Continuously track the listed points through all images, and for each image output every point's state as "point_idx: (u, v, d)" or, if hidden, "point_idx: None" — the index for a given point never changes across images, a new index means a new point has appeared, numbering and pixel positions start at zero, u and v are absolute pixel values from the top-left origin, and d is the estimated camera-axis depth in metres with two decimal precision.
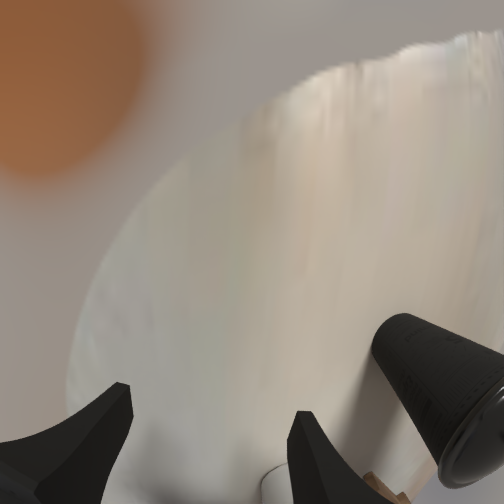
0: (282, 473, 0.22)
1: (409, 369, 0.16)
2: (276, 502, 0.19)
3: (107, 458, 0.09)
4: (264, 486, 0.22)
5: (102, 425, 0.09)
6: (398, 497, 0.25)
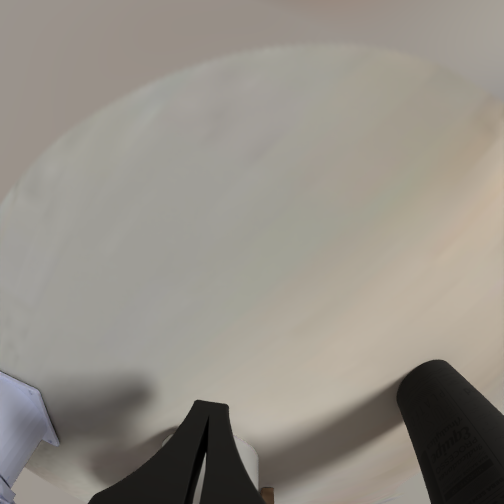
0: None
1: (466, 421, 0.11)
2: None
3: (196, 480, 0.09)
4: None
5: (198, 449, 0.09)
6: None
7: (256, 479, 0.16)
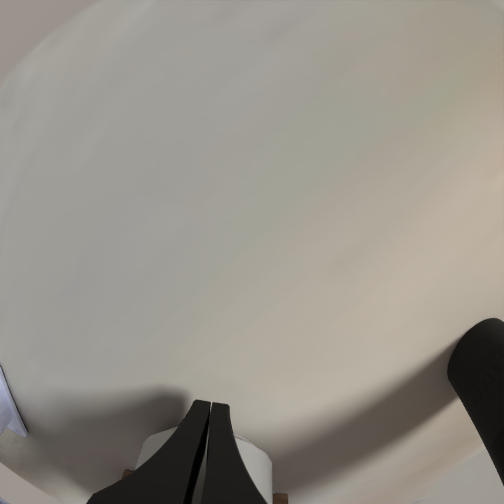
0: None
1: None
2: None
3: (195, 480, 0.09)
4: None
5: (197, 448, 0.09)
6: None
7: (270, 498, 0.11)
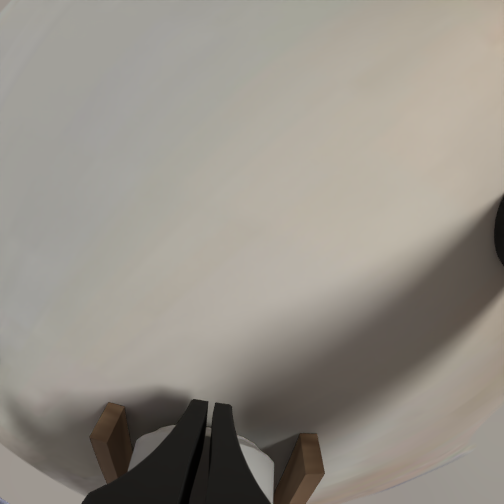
0: None
1: None
2: None
3: (192, 479, 0.09)
4: None
5: (194, 448, 0.09)
6: None
7: None
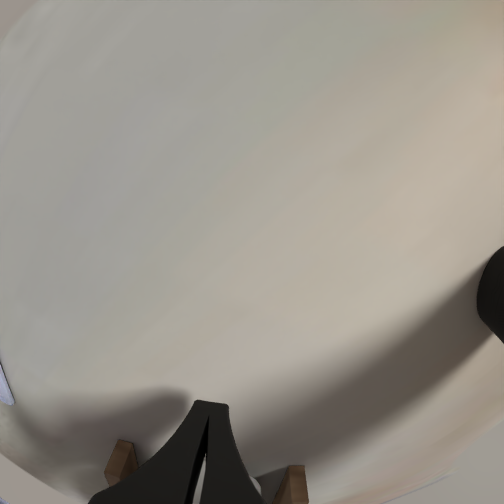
0: None
1: None
2: None
3: (195, 480, 0.09)
4: None
5: (198, 449, 0.09)
6: None
7: None
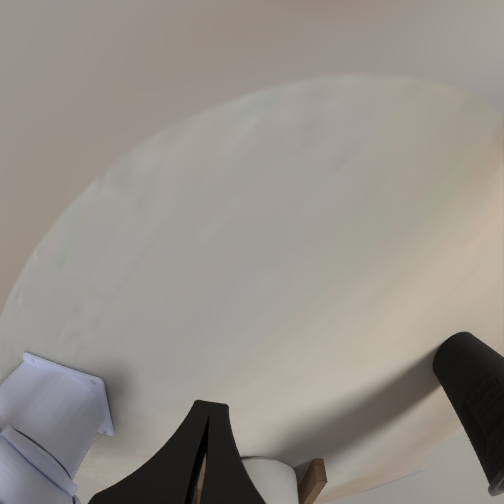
0: (268, 467, 0.23)
1: (495, 373, 0.14)
2: None
3: (195, 480, 0.09)
4: None
5: (198, 449, 0.09)
6: None
7: (296, 491, 0.22)
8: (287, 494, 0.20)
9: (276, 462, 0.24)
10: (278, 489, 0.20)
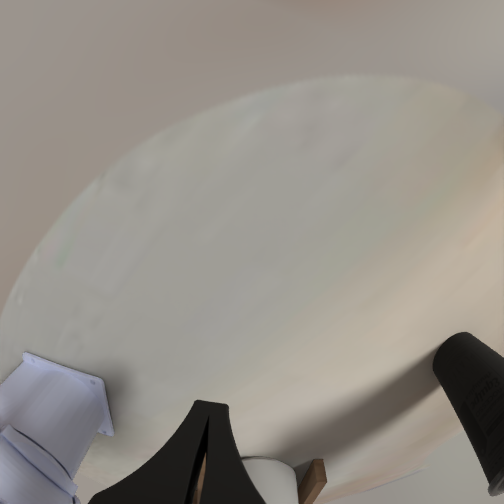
0: (268, 468, 0.23)
1: (495, 374, 0.14)
2: None
3: (196, 480, 0.09)
4: None
5: (198, 449, 0.09)
6: None
7: (296, 491, 0.22)
8: (286, 494, 0.20)
9: (276, 462, 0.24)
10: (278, 490, 0.20)
